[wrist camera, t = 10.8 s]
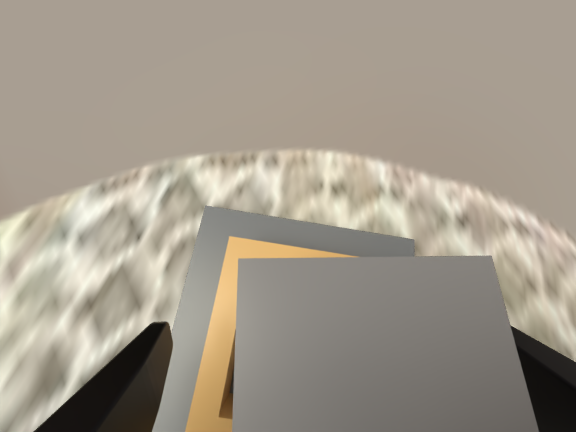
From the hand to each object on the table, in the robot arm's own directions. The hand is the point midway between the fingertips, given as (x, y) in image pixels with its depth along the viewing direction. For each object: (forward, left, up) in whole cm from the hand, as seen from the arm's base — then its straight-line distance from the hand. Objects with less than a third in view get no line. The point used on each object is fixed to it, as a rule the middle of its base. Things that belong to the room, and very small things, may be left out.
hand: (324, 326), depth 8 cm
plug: (-1, 0, -8) cm, 8 cm away
